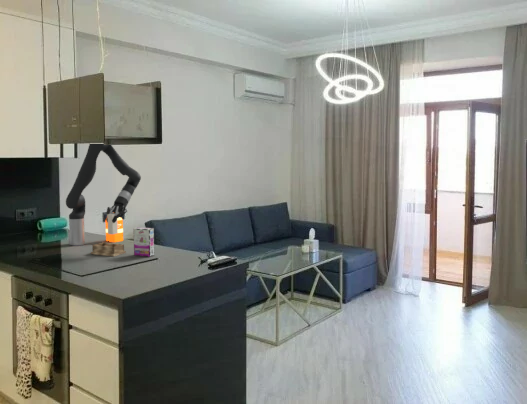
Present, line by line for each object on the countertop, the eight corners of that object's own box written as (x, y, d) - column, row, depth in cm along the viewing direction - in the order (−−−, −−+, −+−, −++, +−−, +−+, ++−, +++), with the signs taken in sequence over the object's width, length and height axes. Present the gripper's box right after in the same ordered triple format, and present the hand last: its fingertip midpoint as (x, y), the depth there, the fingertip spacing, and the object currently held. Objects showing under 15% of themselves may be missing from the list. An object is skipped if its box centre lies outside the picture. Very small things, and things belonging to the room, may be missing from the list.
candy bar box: (154, 255, 287) (154, 228, 285) (150, 257, 282) (149, 229, 281) (138, 253, 291) (137, 227, 289) (133, 255, 286) (133, 228, 284)
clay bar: (108, 234, 287) (107, 214, 286) (113, 232, 291) (112, 213, 290) (112, 234, 286) (112, 214, 285) (117, 233, 290) (117, 213, 289)
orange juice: (114, 242, 326) (113, 213, 323) (105, 241, 330) (104, 212, 328) (123, 240, 332) (122, 211, 330) (114, 239, 337) (114, 211, 335)
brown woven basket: (90, 253, 289) (90, 245, 289) (103, 250, 300) (103, 242, 299) (113, 256, 283) (113, 247, 282) (125, 252, 293) (125, 244, 293)
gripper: (110, 195, 296) (97, 217, 286) (129, 196, 290) (116, 218, 281) (116, 202, 301) (103, 224, 291) (135, 203, 296) (123, 226, 286)
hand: (110, 221), depth 286 cm, fingers closed on clay bar, 3 cm apart
